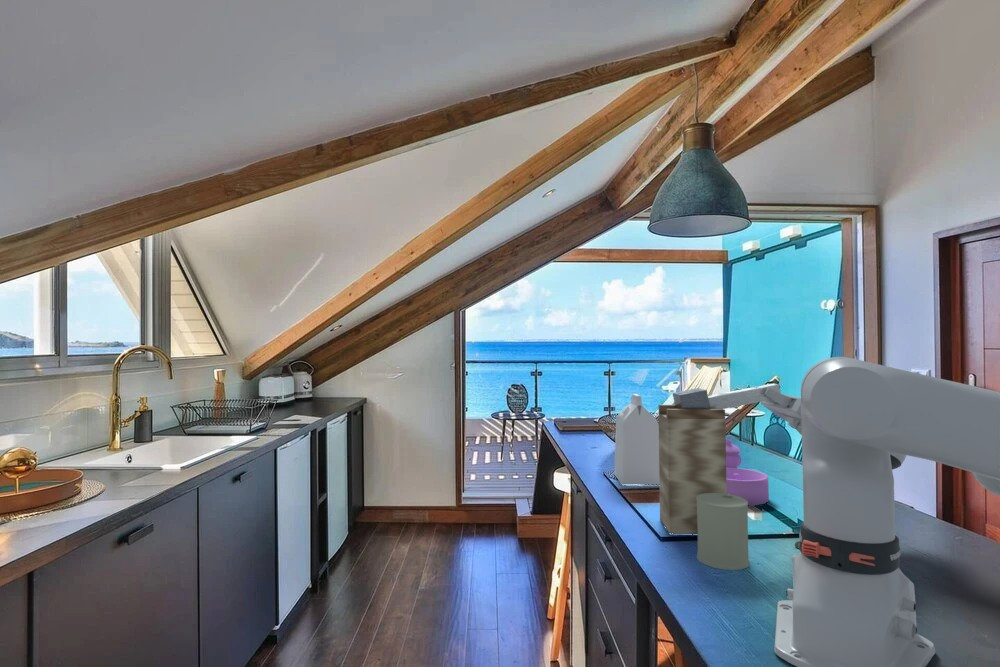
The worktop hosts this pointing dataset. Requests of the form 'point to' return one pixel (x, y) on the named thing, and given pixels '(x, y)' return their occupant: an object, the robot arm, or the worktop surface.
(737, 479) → the container set
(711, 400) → the steel bar
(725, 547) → the can
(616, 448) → the milk
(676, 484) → the post
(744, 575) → the worktop surface
